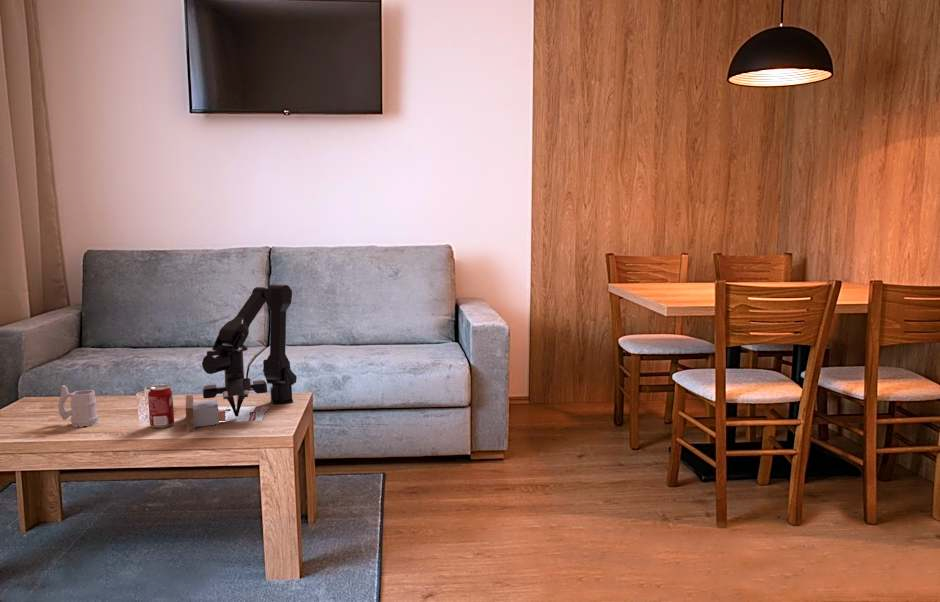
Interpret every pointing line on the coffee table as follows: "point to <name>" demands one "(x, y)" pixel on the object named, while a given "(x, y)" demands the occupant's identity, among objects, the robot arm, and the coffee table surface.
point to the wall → (189, 413)
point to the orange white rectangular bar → (221, 415)
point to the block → (205, 413)
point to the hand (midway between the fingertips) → (236, 416)
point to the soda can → (161, 406)
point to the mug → (79, 407)
